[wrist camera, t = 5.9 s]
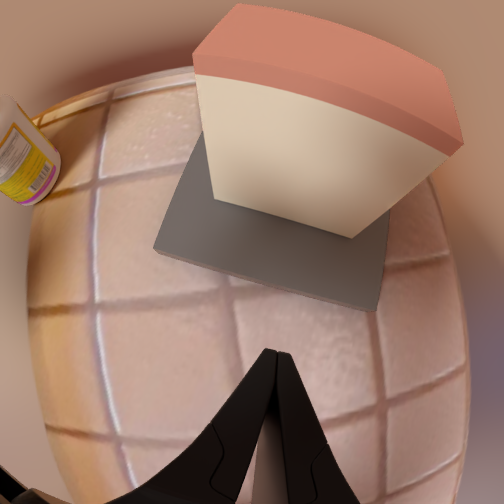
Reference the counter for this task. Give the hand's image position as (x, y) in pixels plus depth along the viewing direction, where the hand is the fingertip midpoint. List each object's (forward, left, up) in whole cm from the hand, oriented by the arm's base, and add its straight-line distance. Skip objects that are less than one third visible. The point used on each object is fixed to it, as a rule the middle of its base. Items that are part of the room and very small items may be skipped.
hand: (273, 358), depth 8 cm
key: (+7, +8, -9) cm, 14 cm away
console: (+8, +9, -10) cm, 16 cm away
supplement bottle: (-12, +22, -11) cm, 28 cm away
